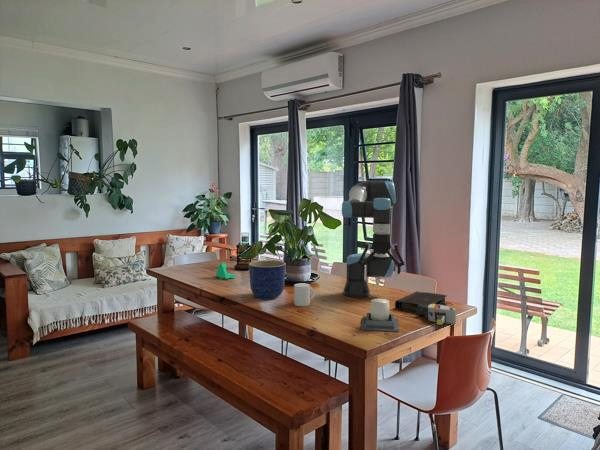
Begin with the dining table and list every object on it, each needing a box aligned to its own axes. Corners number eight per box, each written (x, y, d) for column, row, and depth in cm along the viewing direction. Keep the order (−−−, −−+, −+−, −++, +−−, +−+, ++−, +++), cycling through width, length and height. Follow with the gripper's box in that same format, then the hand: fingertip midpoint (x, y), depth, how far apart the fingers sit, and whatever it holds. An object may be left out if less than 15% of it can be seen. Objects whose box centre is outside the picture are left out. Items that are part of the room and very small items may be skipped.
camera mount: (235, 278, 294) (235, 263, 293) (225, 280, 289) (225, 265, 288) (225, 275, 303) (225, 261, 302) (216, 277, 297) (215, 262, 296)
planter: (292, 298, 242) (292, 264, 241) (258, 303, 232) (258, 268, 230) (275, 290, 260) (275, 259, 258) (243, 295, 250) (242, 262, 248)
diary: (394, 309, 223) (394, 299, 222) (415, 299, 242) (415, 290, 242) (429, 315, 211) (429, 305, 211) (448, 304, 230) (449, 295, 230)
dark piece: (256, 267, 332) (255, 241, 330) (251, 271, 318) (251, 244, 316) (237, 267, 334) (236, 241, 332) (231, 270, 320) (231, 243, 318)
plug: (370, 319, 202) (371, 298, 201) (388, 320, 200) (389, 299, 199) (370, 325, 194) (370, 302, 193) (389, 326, 192) (389, 303, 191)
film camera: (405, 322, 204) (424, 315, 214) (442, 330, 189) (460, 322, 199) (404, 307, 204) (423, 301, 213) (442, 314, 189) (460, 307, 199)
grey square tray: (362, 318, 206) (362, 311, 206) (397, 320, 203) (397, 313, 203) (361, 329, 191) (361, 321, 190) (398, 331, 188) (399, 323, 187)
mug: (291, 284, 231) (309, 281, 238) (291, 303, 232) (309, 300, 239) (299, 287, 224) (318, 284, 231) (299, 307, 225) (318, 303, 232)
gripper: (352, 233, 192) (352, 281, 194) (411, 234, 187) (410, 283, 189) (353, 231, 199) (353, 277, 201) (410, 232, 195) (408, 279, 197)
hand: (380, 280), depth 195 cm, fingers open, 13 cm apart
